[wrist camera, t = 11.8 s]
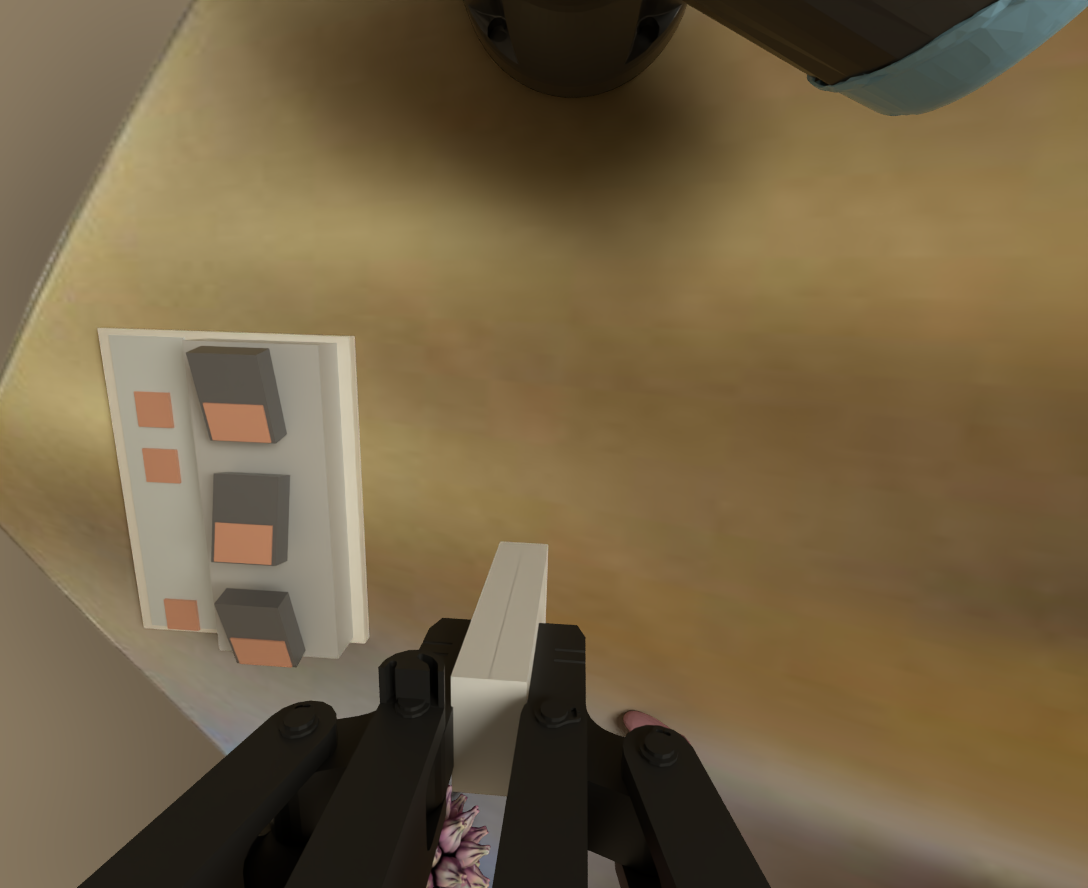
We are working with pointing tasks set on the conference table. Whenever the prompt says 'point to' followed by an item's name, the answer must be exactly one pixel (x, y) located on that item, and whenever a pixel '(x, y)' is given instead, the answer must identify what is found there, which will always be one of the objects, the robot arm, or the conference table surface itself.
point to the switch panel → (192, 459)
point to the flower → (459, 849)
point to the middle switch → (250, 518)
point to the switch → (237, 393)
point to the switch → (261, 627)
